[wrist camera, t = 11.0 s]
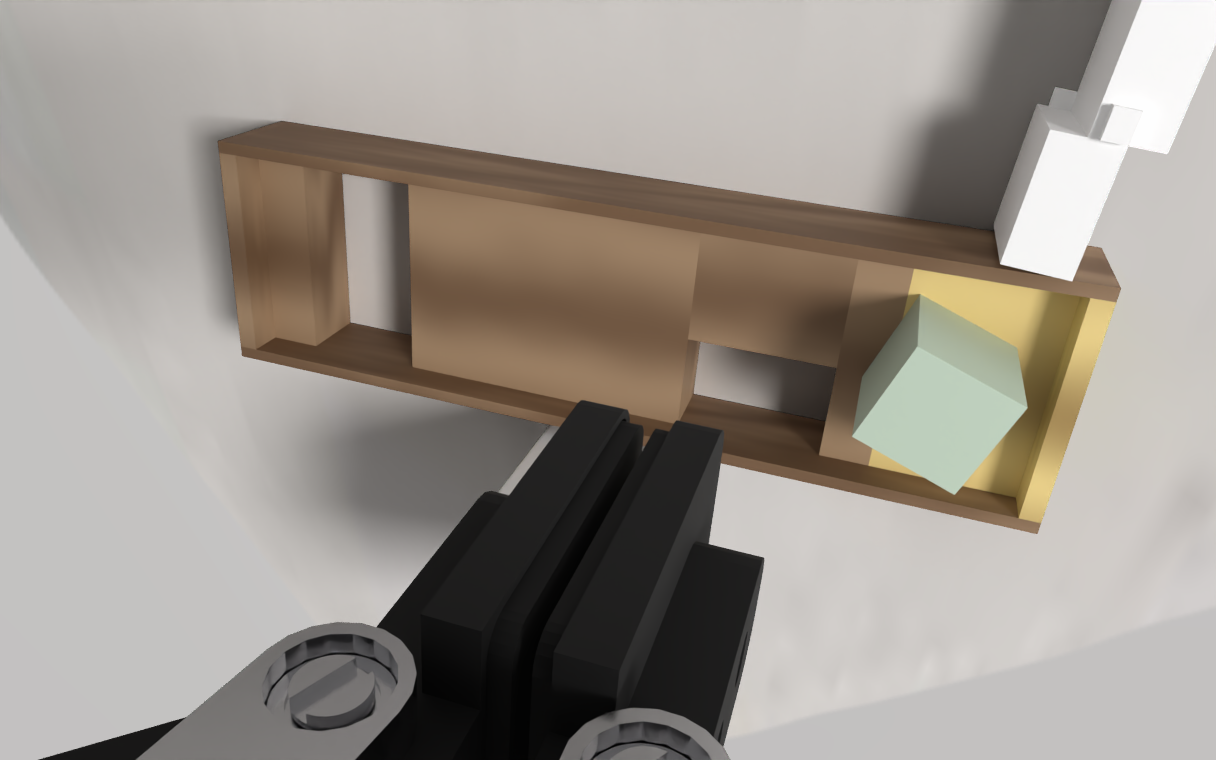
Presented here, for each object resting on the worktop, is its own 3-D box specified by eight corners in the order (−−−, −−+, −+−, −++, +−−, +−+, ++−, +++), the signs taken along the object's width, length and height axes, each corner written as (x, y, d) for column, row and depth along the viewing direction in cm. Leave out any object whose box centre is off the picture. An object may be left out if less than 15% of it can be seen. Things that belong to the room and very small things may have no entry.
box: (281, 121, 44) (217, 141, 40) (1101, 247, 36) (1121, 288, 32) (298, 320, 48) (242, 356, 44) (1027, 474, 40) (1037, 534, 36)
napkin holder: (1202, -221, 30) (1253, -248, 25) (1397, 71, 31) (1482, 101, 26) (810, 98, 37) (790, 126, 32) (983, 321, 39) (989, 381, 34)
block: (920, 293, 35) (917, 346, 31) (1016, 347, 35) (1027, 407, 31) (862, 376, 37) (851, 436, 33) (953, 427, 37) (954, 494, 33)
